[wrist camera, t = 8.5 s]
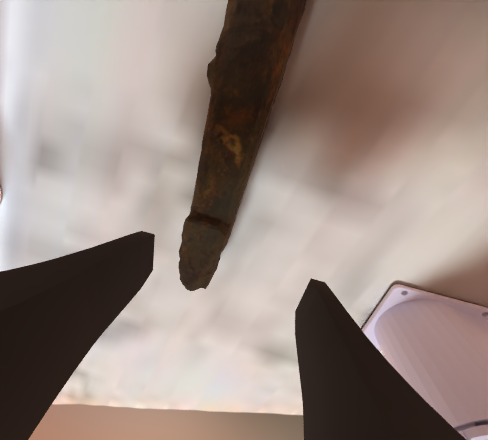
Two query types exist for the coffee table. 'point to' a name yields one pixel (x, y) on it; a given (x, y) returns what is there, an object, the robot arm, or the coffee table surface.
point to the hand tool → (235, 124)
